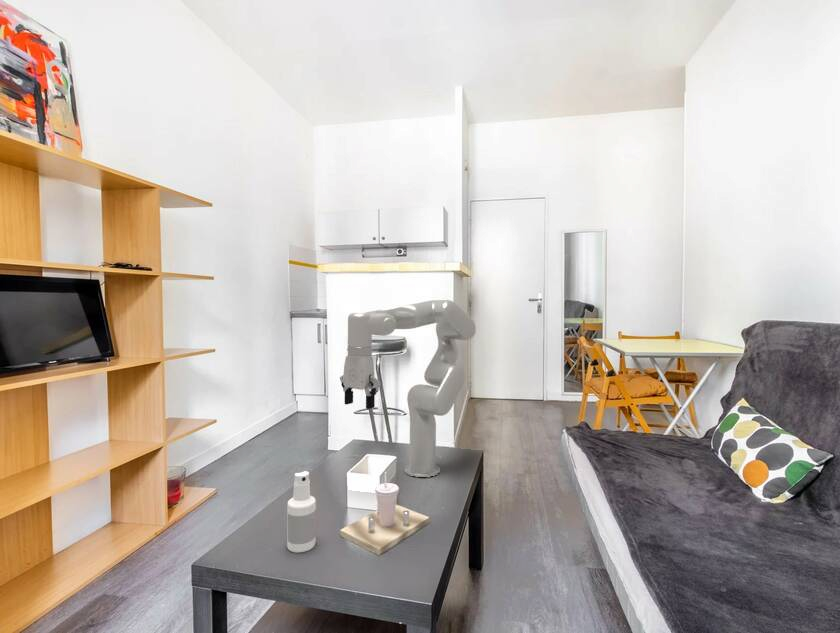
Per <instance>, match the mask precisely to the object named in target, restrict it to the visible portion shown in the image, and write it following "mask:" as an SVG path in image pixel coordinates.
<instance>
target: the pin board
mask: <svg viewBox="0 0 840 633" xmlns="http://www.w3.org/2000/svg"><path fill="white" fill-rule="evenodd" d="M376 503H377V502H376ZM376 506H377V507H376V508H377V510H375V511H373V512H371V513H369V514H367V515H365V516H364V517H362V518H360V519H358V520H356V521H354V522H352V523H351V524H348V525H347V526H345V527H343V528H341V529H339V536H340V537H342V538H343V539H346V540H348V541H350V542H351V543H353V544H356V545H358V546H360V547H361V548H363V549H365V550H368V551H370V552H372V553H373V554H376V555H378V556H380V555H383V553H385V552H387V551H388V550H390V549H392V547H395V546H396V545H398V543H401V541H403V540H405V539H407V538H408V537H409V536H411V535H412V534H414V533H415V532H417V531H419V530H420V529H422V528H423V527H424V526H427V525H428V524H429V523H430V517H429V516H427V515H424V514H422V513H419V512H417V511H415V510H413V509H412V510H411V509H409V508H407V507H405V506H401V505H399V504H396V509H395V516H394V524H393V525H392V526H390V527H383V526H381V525H380V521H379V512H378V503H377V505H376Z"/></svg>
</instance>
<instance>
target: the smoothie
mask: <svg viewBox="0 0 840 633" xmlns="http://www.w3.org/2000/svg"><path fill="white" fill-rule="evenodd" d="M399 492H400V488H399V486H398V485H397V484H395V483H391V482H387V471H384V482H383V483H380V484H378V485H376V486H375V487H374V493H375V494H376V501H377V502H376V503H378V512H379V521H380V525H381V526H383V527H390V526H392V525H393V524H394V516H395V509H396V505H397V500H398V493H399Z"/></svg>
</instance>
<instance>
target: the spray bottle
mask: <svg viewBox="0 0 840 633" xmlns="http://www.w3.org/2000/svg"><path fill="white" fill-rule="evenodd" d="M310 485H311V481H310V472H309V471H307V470H304V471H301V472H295V473H294V481H293V492H292V495H293V496H292V497H291V498H290V499H289V500H288V501H287V509H286V511H287V513H286V514H287V515H286V516H287V517H286V533H287V534H286V536H287V537H286V538H287V539H286V540H287V541H286V546H287V549H288V550H289V551H290V552H292V553H298V554H299V553H305V552H308V551H309V550H312V549H313V548H314V547H315V545H316V539H317V537H316V532H317V528H316V527H317V526H316V524H317V522H316V520H317V515H316V514H317V513H316V512H317V500H316V498H315V496H313V495H311V489H310V488H311V486H310Z"/></svg>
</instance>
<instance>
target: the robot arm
mask: <svg viewBox="0 0 840 633" xmlns="http://www.w3.org/2000/svg"><path fill="white" fill-rule="evenodd" d="M432 324H435V332H436V337H437V349H436V351H435V353H434V355H433V356H432V358H431V360H430V362H429V363H428V365H427V367H426V369H425V371H424V375H423V376H424V380H425V381H426V383H427V384H419V383H418V384H415V385H414V386H412V387H410V388H409V390H408V392H407V398H406V399H407V401H406V402H407V406H408V407H407V408H408V410H409V412H408V413H409V464H408V465H406V466H405V468H404V469H405V470H404V471H405V473H406V474H407V475H408V476H411V477H413V476H415V477H414V478H418V477H427V478H432V477H431V476H433V477H436V476H437V475H439V474H440V472H441V468H440V466H439V465H437V463H438V462H440V461H441V460H442V459H443V457H442V455H440V454H439V455H437V454H436V451H437V447H436V446H437V445H436V444H437V422H436V417H435V416H438V417H439V416H440V417H441V416H446V415H447V414H448V413H449V412H450V411H451V409H452V408H453V406H454V404H455V402H456V400H457V398H458V396H459V394H460V392H461V390H462V389H463V386H464V384H465V380H466V372H465V369H464V367H463V365H461V364H459V363H457V360H458V357H459V349H458V346H457V342H456V340H459V341H469V340H471V339H472V338H474V336H475V334H476V331H477V329H476V328H477V327H476V323H475V321H474V320H473V319H472V317H471V316H470V315H469V314H468V313H467V312H466V311H465V310H464V309H462V307H460V305H459V304H457V303H456V302H454V301H453V300H449V299H439V300H438V299H434V300H433V299H432V300H427V301H426V300H425V301H421V302H418V303H417V302H416V303H412V304H406V305H401V306H400V305H399V306H395V307H388V308H382V309H377V310H372V311H367V312H357V313H356V312H354V313H350V314H349V315H348V316H347V348H346V351H347V355H346V356H345V360H344V364H343V365H344V366H343V374H342V375H341V376H340V377H339V381H340V384H341V387H342V391H343V392H344V405H350V404H351V405H352V404H354V390H353V389H355V390H361V391H363V390H364V391H365V393H366V396H365V409H367V410H370V409H374V408H375V406H376V405H375V402H376V401H375V399H376V398H375V397H376V395H377V393H378V391H379V389H380V386H381V384H382V383H381V381H380V380H379V379H378V378H376V377H375V364H374V359H373V356H372V354H373V353H372V340H373V339H372V338H373V336H382V337H384V336H390V335H391V334H392V333H394V332H395V330H412V329H416V328H420V327H424V326H428V325H432ZM438 473H439V474H438ZM435 475H436V476H435Z"/></svg>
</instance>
